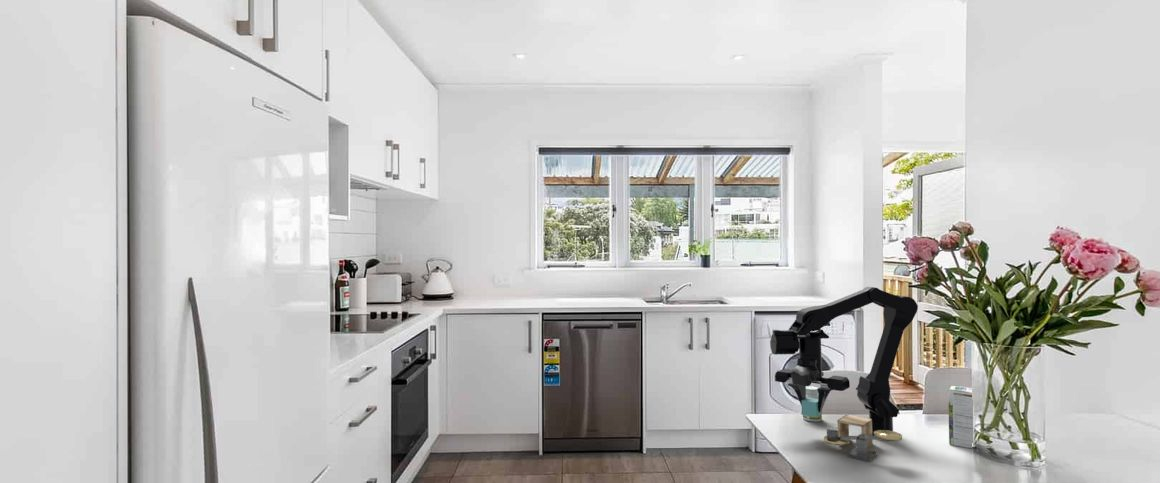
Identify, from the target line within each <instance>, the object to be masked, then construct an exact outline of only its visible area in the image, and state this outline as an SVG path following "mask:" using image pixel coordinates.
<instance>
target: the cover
mask: <svg viewBox="0 0 1160 483" xmlns="http://www.w3.org/2000/svg"><path fill="white" fill-rule="evenodd" d="M836 423H837V431H838V436H850V428H849V427H850V426H856V427H861V434H864V435H865V436H872V419H869V418H866V417H860V416H855V415H850V414H845V415H843V416H842V417H840V418H839V419H837V422H836ZM873 442H874V440H867V449H868V448H870V447H871V446H872V445H873Z"/></svg>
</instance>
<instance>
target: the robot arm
mask: <svg viewBox="0 0 1160 483" xmlns="http://www.w3.org/2000/svg"><path fill="white" fill-rule="evenodd" d="M871 304H875V305H876V306H879V307H882V308H883V313H882V314H883V319H884V327H883V330H882V333H881V337H880V339H879V342H878V346H877V349H876V353H875V355H874V359H873V362H872V366H871V369H870V372H869V373H868V374H867V375H866V376H865V377H864V376H860V377H859V380H858V385H857V387H855V390H856V391H857V392H856V397H857V398H858V400H859V401H860V402H861V403H862V404H863V406H864V409H866V410H868V411H869V412H868V416H869V417H868V419H872V436H874V431H877V430H889V431H894V419H893V418H897V417H898V415H899V413H900V412H899V411H900V409H899V408H898V407H897V406H896V405H895V404H894V403H893V402H892V401H890V396H891V386H890V377H891V373H892V370H893V367H894V363H895V359H896V357H897V354H898V350H899V346H900V343H901V341H902V338H903V334H904V331H905V330H906V328H907V327H908V326H909V325H911V323H912V322H913V320H914V318H915V317H916V314H917V313H918V309H919V305H918V303H917V302H916V300H915V299H914V298H912V297H911V296H906V295H905V296H904V295H899V294H898V295H897V294H893V293H890V292H888V291H884V290H882V289H880V288H878V287H873V286H865V287H864V288H863V289H859V290H858V291H855V292H853V293H850V294H848V295H846V296H843V297H841V298H839V299H836V300H834V301H831V302H829V303H825V304H823V305H822V304H821V305H815V306H810V307H805V308H804V307H803V308H801V309H799V310H797V313H796V316H795V320H794V321H793V323H792V324H791V326H790V327H789V328H788V330H787V329H786V330H782V329H781V330H780V329H773V330H772V334H771V336H770V337H771V338H770V340H769V344H770V351H771V354H773V355H795V354H796V353H798V351H799V357H798V358H797V361H796V362H797V363H796V365H795V367H794V368H793V369H788V368H783V369H779V370H776V372H775V374H774V382H777V383H783V384H785V383H787V382H788V383H787V386H788V387H791V388H792V389H793V391H794V392H795V394H796V396H797V398H798V401H799V403H800V406H801V407H802V400H803V399H805V398H806V387H808V386H812V384H816V385H818V384H819V385H820V387H817V388H818V389H817V390H818V394H819V395H818V412H821V411H822V412H823V408H824V406H825V403H826V401H827V398H828V396H829V394H830V392H832V391H839V392H843V391H845V390H848V389H849V388H850V387H851V386H850V385H851V384H850V379H849V378H848V377H847V376H842V375H841V376H840V375H832V376H829V377H824V371H823V367H822V366H823V364H822V363H823V361H824V357H822V339H829V338H830V335H828V334H827V333H826V332H825V331H824V330H823V327H826V326H827V325H829V323H831V322H832V321H833V320H834V319H836V318H838V317H840V316H842V315H846V314H848V313H850V312H853V311H855V310H857V309H860V308H863V307H865V306H867V305H871Z"/></svg>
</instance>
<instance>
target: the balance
mask: <svg viewBox="0 0 1160 483" xmlns="http://www.w3.org/2000/svg"><path fill="white" fill-rule="evenodd" d="M902 439H903V434H901V433H899V432H898V431H897V432H896V431H894V430H893V431H889V430H877V431H874V436H865V435H864V434H862V433H860V434H858V435H849V436H838V429H833V428H829V429H826V435H825V436H824V437H823V441H824V442H825V443H826V444H829V445H832V446H833V445H834V446H848V445H850V443H851V441H852V440H853V441H855V447H854V448H853V449H851V450H849V452H848V453H846V455H847V458H851V459H853V460H854V459H856V460H860V461H864V462H868V463H870V461H872V460H874V458H875V457H876V456H877V454H878V452H877V451H875V450H870V449H869V450H868V448H867V440H873V441H878V440H879V441H880V440H881V441H885V440H886V441H894V442H895V441H901V440H902Z"/></svg>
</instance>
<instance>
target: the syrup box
mask: <svg viewBox="0 0 1160 483" xmlns="http://www.w3.org/2000/svg"><path fill="white" fill-rule="evenodd" d="M972 388H973V387H967V386H960V385H959V386H958V385H957V386H956V385H951V387H949V389H948V396H947V397H948V444H949V445H950V446H955V447H961V448H967V449H973V448H972V443H973V400H972Z"/></svg>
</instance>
